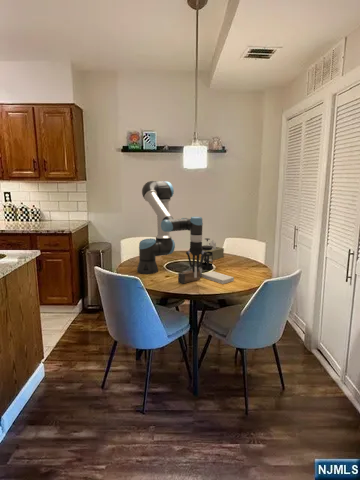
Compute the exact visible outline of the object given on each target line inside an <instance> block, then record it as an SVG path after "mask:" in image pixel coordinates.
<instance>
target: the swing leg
mask: <svg viewBox="0 0 360 480" xmlns="http://www.w3.org/2000/svg"><path fill="white" fill-rule="evenodd" d="M187 271H188V272H183V273H182V272H178V273H177V274H178V275H177V276H178V277H177V281H178V283H179V284H181V285H183V284H186V283H190V282H194V281H199V280H201V277H200V270H199V272H197V278H194V272H193V270H192V271H190V270H187Z"/></svg>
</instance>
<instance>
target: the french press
mask: <svg viewBox="0 0 360 480" xmlns="http://www.w3.org/2000/svg"><path fill="white" fill-rule="evenodd" d="M204 240H206V242H208V241H209V240H210V241H211V238H204ZM212 248H213V246H210V245H209V244H205V245H202V249H203V250H212ZM207 253H209V254H207ZM209 256H212V260H211V259H209ZM201 257H202V252H201V254H200V258H201ZM213 261H214V260H213V253H212V252H206V254H205V256H204V259H203V262H202V266H201V267H199V268H202V271H203V270H204V271H209V270H213Z"/></svg>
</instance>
